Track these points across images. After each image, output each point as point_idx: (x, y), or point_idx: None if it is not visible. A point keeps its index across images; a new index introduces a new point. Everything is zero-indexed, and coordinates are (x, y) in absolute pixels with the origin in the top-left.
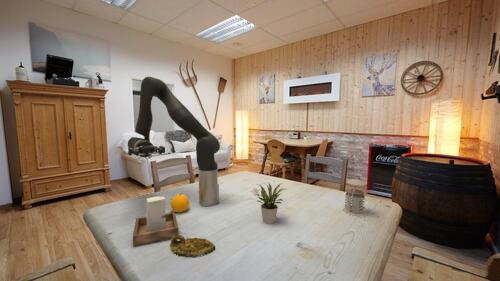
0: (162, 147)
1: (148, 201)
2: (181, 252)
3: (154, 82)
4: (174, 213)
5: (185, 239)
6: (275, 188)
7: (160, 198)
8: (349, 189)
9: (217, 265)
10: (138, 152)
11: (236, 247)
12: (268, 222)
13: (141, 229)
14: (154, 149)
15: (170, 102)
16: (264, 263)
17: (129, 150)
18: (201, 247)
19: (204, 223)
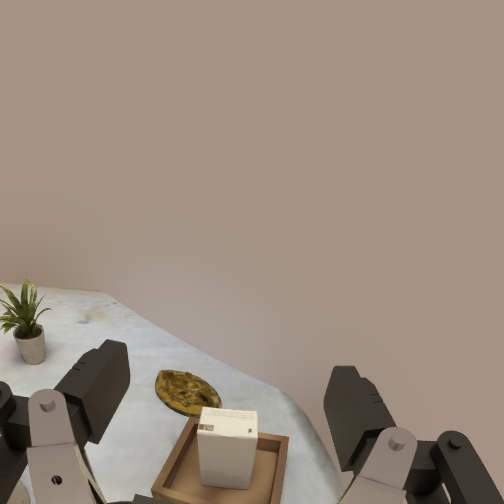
0: (10, 396)
1: (255, 413)
2: (211, 387)
3: None
4: (157, 480)
5: (186, 409)
6: (24, 288)
7: (215, 413)
8: None
9: (182, 355)
10: (331, 376)
11: (135, 360)
12: (45, 353)
13: (261, 501)
14: (91, 480)
15: None
16: (140, 332)
17: (445, 440)
18: (181, 375)
19: (108, 436)
